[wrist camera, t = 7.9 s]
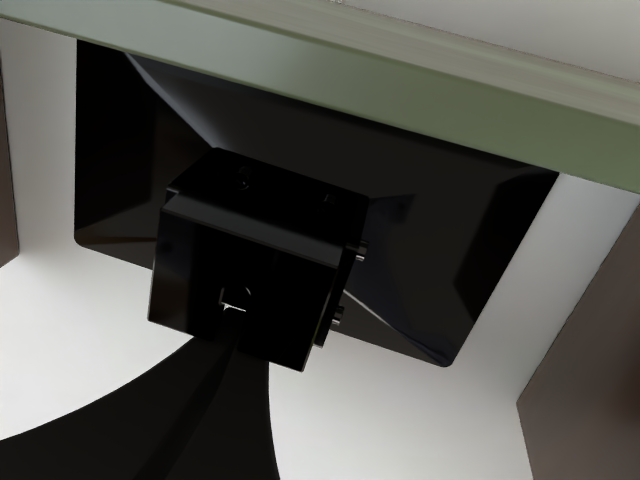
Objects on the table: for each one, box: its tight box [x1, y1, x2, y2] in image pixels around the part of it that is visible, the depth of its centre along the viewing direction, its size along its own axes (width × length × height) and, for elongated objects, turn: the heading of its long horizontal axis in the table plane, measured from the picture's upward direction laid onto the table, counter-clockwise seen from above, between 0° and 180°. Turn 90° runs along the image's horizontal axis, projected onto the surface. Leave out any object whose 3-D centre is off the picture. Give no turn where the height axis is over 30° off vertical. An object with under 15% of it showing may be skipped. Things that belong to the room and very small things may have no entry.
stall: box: [0, 0, 640, 480], centre depth 11 cm, size 10×19×6 cm, turn 77°
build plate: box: [74, 39, 560, 372], centre depth 12 cm, size 12×7×5 cm, turn 75°
